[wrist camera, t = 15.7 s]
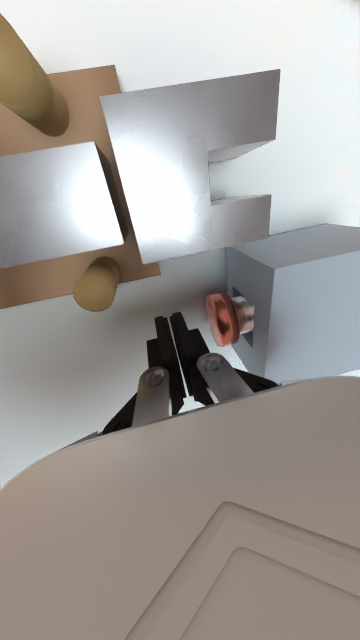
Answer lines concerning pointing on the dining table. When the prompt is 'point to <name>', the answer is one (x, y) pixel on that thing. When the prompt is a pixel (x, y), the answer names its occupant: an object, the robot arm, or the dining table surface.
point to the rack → (50, 132)
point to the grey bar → (144, 176)
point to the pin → (229, 317)
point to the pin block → (299, 302)
